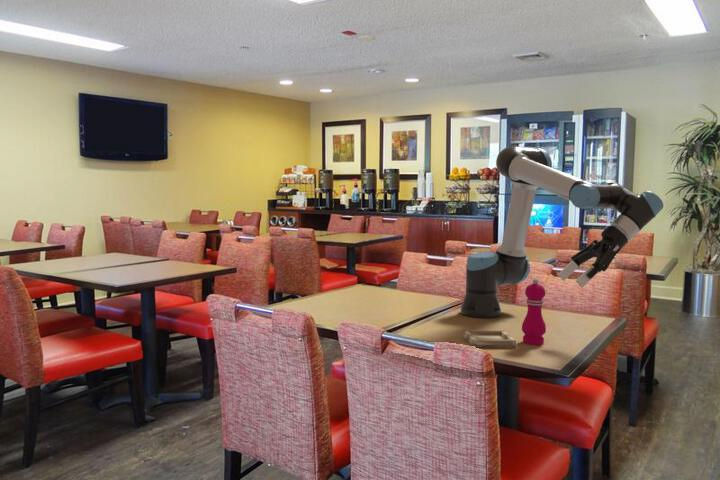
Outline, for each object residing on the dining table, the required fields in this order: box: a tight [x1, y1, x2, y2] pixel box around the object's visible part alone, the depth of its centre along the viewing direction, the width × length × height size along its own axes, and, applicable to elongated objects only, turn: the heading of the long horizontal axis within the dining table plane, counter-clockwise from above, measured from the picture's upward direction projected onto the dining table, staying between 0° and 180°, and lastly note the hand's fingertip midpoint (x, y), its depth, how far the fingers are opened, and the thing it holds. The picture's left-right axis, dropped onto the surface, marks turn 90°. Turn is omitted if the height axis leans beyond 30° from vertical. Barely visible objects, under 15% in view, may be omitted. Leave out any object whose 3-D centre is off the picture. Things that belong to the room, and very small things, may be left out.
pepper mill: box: [521, 278, 547, 346], centre depth 177 cm, size 7×7×20 cm
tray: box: [462, 329, 517, 349], centre depth 177 cm, size 13×13×2 cm
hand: (569, 281), depth 176 cm, fingers open, 13 cm apart
